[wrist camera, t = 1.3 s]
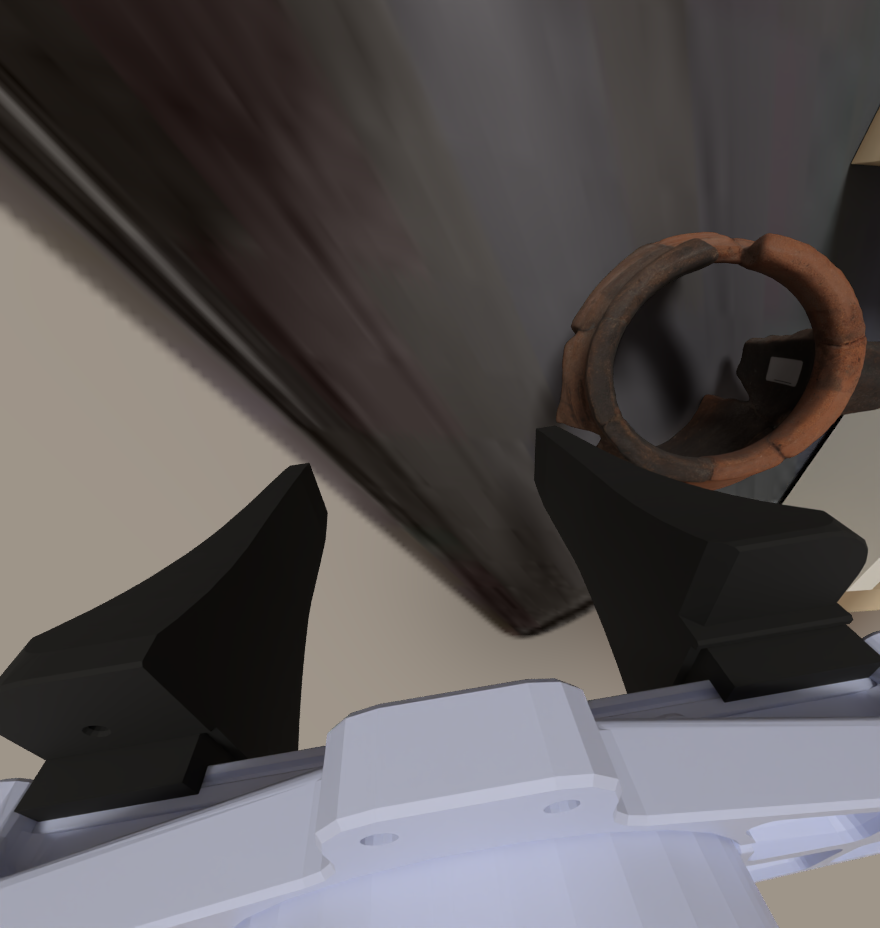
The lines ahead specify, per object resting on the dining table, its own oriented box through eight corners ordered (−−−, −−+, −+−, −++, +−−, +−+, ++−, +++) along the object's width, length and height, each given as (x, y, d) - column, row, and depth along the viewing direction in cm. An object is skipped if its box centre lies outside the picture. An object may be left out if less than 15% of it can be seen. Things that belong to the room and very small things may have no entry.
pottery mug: (550, 480, 20) (574, 530, 12) (533, 298, 19) (548, 223, 11) (812, 456, 18) (1052, 499, 10) (811, 245, 17) (1087, 101, 9)
